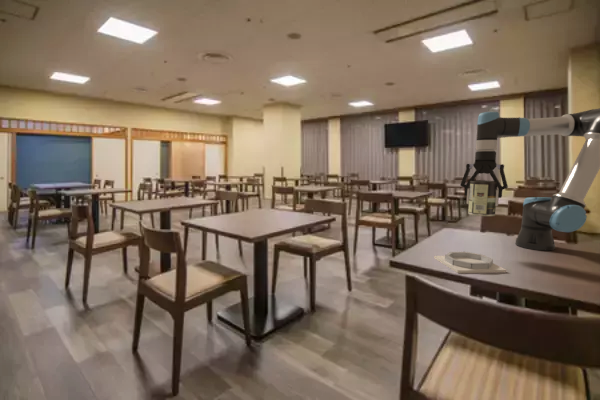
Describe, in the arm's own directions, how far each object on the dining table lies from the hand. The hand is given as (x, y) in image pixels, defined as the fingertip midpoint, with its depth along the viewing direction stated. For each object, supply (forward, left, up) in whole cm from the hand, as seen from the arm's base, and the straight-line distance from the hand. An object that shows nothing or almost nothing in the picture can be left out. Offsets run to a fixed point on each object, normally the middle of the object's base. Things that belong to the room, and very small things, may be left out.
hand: (482, 204), depth 144 cm
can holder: (+13, +15, -21) cm, 29 cm away
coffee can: (0, 0, -4) cm, 4 cm away
